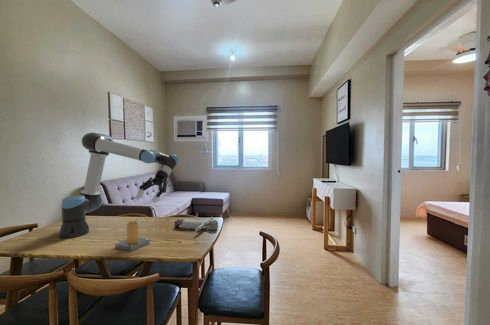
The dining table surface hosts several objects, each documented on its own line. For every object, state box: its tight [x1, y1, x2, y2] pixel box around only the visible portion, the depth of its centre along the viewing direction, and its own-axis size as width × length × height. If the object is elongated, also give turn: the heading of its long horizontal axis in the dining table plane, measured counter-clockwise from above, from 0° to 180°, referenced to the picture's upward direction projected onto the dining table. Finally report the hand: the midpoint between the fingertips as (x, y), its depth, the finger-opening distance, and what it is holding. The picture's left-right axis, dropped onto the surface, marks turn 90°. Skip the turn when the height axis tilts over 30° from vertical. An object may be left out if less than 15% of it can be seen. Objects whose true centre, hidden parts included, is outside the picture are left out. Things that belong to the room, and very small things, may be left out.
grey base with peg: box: [114, 236, 151, 252], centre depth 122 cm, size 12×12×9 cm
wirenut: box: [126, 220, 139, 243], centre depth 122 cm, size 5×5×11 cm
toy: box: [173, 216, 219, 233], centre depth 150 cm, size 30×7×30 cm
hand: (144, 200), depth 134 cm, fingers open, 13 cm apart
